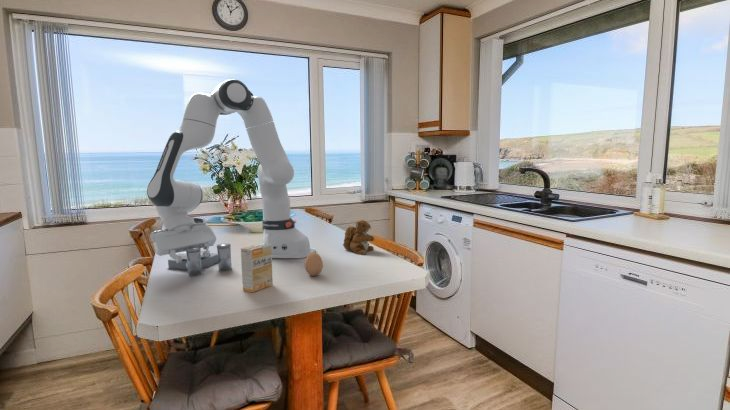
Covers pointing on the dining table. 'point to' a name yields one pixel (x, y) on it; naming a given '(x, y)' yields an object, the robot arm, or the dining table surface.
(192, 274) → the cylinder
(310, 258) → the egg
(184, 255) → the pan
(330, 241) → the dining table surface
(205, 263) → the scale
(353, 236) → the stuffed squirrel
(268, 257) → the supplement box
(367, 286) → the dining table surface
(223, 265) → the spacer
